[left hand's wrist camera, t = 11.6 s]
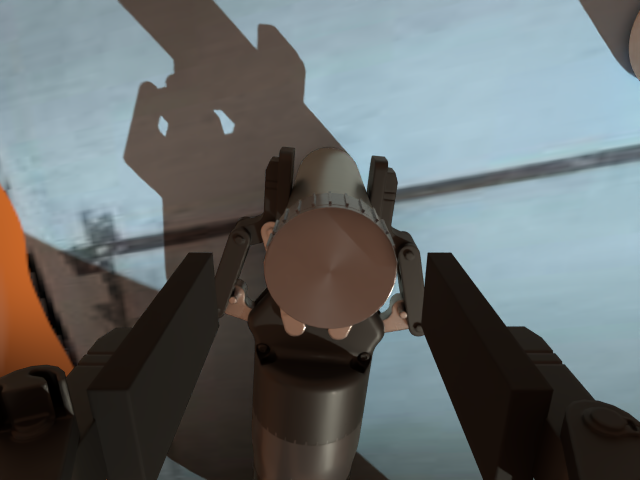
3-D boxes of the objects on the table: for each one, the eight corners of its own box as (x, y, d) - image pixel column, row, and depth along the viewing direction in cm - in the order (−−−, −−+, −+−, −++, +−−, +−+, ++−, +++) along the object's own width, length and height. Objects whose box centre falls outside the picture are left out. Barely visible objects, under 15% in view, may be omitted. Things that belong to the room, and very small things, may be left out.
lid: (283, 313, 19) (278, 340, 17) (255, 203, 17) (246, 219, 15) (398, 293, 18) (407, 319, 16) (381, 179, 17) (388, 193, 15)
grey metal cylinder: (304, 213, 31) (286, 326, 17) (291, 154, 30) (259, 222, 16) (364, 202, 31) (396, 307, 17) (353, 141, 29) (379, 200, 15)
